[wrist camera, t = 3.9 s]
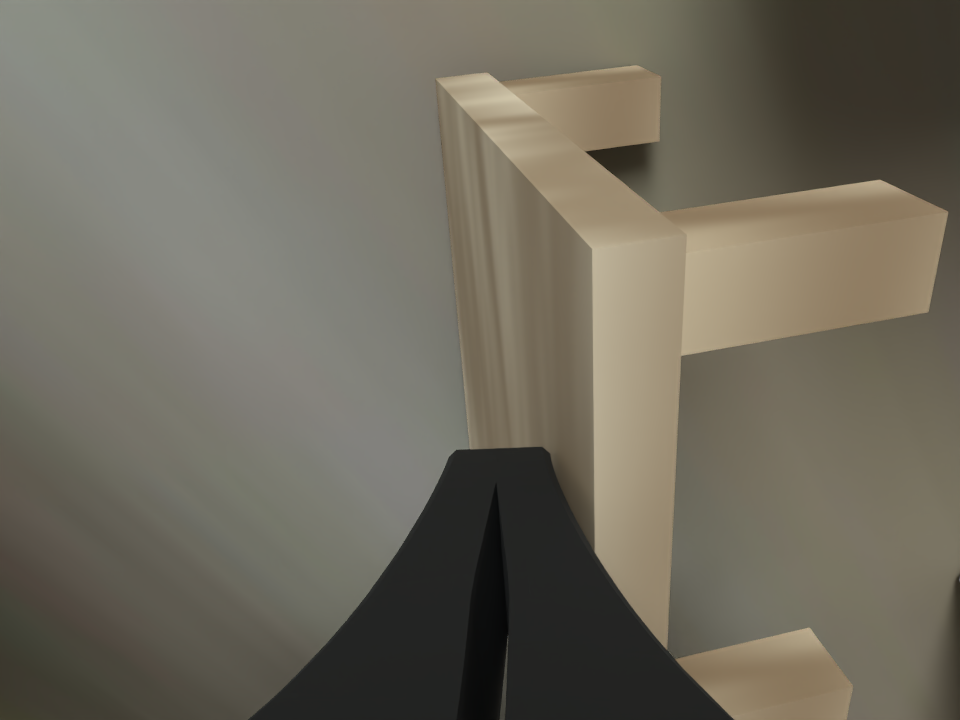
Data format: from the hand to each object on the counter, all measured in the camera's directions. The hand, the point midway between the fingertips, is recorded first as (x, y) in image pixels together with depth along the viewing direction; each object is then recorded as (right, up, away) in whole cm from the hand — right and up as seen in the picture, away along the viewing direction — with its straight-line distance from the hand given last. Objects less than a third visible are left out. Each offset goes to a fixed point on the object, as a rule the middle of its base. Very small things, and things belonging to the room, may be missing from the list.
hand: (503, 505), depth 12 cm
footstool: (+1, +4, +7) cm, 8 cm away
